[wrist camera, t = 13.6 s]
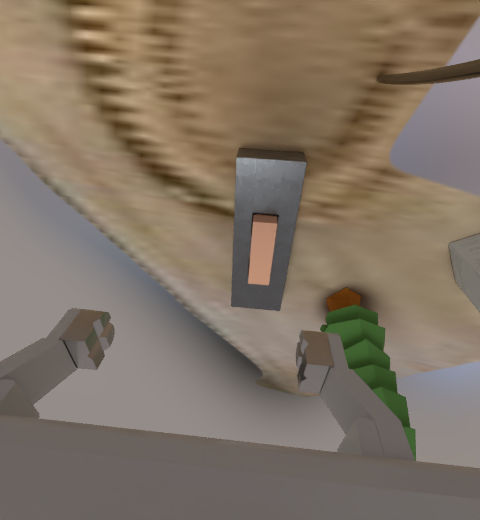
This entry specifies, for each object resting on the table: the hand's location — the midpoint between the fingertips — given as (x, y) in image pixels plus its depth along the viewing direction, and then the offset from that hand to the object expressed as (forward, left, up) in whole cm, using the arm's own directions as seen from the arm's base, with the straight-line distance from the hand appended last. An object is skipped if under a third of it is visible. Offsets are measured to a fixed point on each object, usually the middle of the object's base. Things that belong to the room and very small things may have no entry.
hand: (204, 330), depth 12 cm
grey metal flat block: (+12, +3, -29) cm, 32 cm away
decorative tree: (+25, +18, -29) cm, 42 cm away
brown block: (+12, +3, -29) cm, 32 cm away
